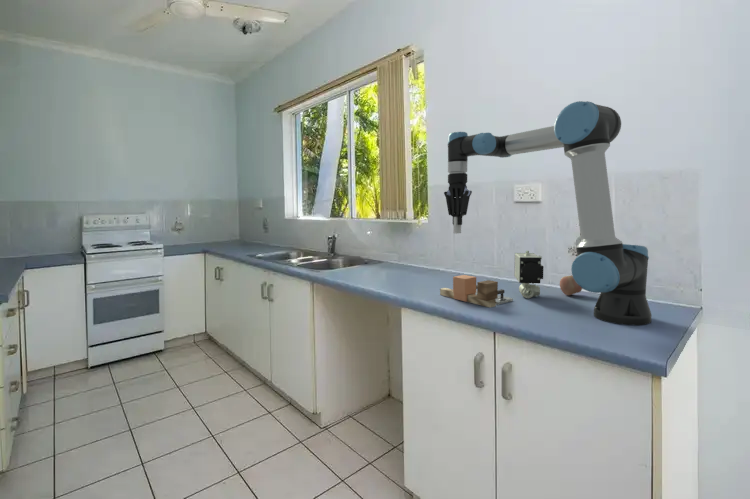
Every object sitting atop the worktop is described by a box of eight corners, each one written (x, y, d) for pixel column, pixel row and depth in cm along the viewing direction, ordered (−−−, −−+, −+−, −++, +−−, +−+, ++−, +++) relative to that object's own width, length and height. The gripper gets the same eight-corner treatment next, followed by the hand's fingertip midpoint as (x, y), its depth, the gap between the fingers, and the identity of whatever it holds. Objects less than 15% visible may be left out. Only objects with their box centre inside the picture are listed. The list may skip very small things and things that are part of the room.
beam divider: (508, 303, 144) (509, 280, 143) (487, 308, 137) (487, 284, 136) (457, 291, 164) (458, 271, 163) (437, 295, 158) (437, 274, 157)
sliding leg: (485, 297, 152) (486, 275, 151) (464, 301, 146) (465, 279, 145) (473, 294, 157) (474, 273, 156) (453, 298, 151) (453, 276, 150)
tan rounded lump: (581, 294, 156) (582, 274, 155) (582, 298, 149) (583, 277, 148) (559, 292, 159) (559, 272, 158) (559, 296, 152) (559, 276, 151)
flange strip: (513, 301, 147) (513, 298, 147) (497, 304, 142) (497, 301, 142) (468, 290, 165) (468, 288, 165) (452, 294, 160) (452, 291, 160)
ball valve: (544, 302, 144) (546, 253, 142) (520, 301, 146) (521, 253, 144) (535, 291, 161) (536, 248, 159) (513, 291, 163) (514, 248, 161)
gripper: (477, 172, 153) (476, 233, 155) (452, 174, 163) (452, 231, 166) (463, 171, 148) (462, 234, 151) (439, 174, 159) (439, 232, 162)
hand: (457, 233), depth 158 cm, fingers closed
